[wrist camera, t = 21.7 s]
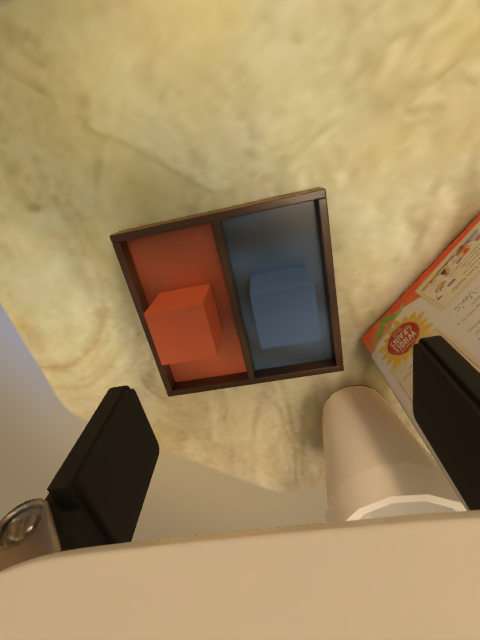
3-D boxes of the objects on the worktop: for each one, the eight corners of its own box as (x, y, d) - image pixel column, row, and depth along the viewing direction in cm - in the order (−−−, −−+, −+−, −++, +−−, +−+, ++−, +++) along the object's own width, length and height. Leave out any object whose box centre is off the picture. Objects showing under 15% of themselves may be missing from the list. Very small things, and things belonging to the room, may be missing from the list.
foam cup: (405, 367, 31) (494, 489, 20) (401, 442, 35) (474, 583, 23) (302, 378, 32) (328, 500, 21) (309, 449, 36) (334, 588, 24)
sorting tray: (118, 231, 27) (109, 235, 25) (320, 187, 25) (325, 188, 23) (173, 384, 33) (168, 397, 32) (339, 358, 31) (344, 370, 29)
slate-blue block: (250, 275, 28) (249, 294, 23) (305, 264, 27) (314, 282, 23) (260, 324, 29) (261, 349, 25) (312, 315, 29) (321, 339, 25)
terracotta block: (159, 292, 29) (143, 313, 24) (210, 282, 28) (202, 302, 24) (174, 338, 30) (161, 365, 26) (223, 330, 30) (217, 356, 26)
